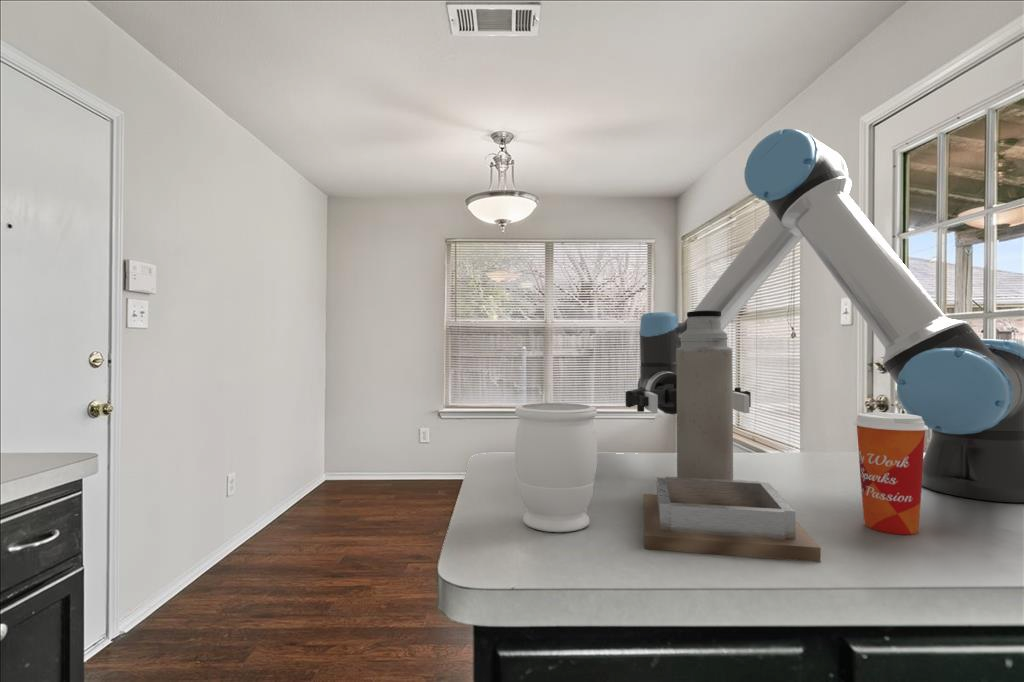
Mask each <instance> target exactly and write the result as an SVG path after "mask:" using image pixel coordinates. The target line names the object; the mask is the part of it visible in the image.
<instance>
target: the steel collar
mask: <svg viewBox="0 0 1024 682" xmlns="http://www.w3.org/2000/svg"><path fill="white" fill-rule="evenodd" d="M656 495H657V504H658V514H659V523H660V530H671V532H678V533H693V534H708V535H722V536H737V537H752V538H766V539H781V540H785V538H792V539H796V521H797V519H796V510H795V509H794V507H793V508H792V506H791V505H790V504H789V503H788V502H787V501H786V499H784V497H783V496H782V495H781V494H780V493H779V492H778V491H777V490H776V488H774V487H773V485H772V484H771V483H770V482H762V481H761V482H759V481H758V480H743V479H742V480H739V479H733V480H723V479H702V478H680V477H677V476H665V477H660V476H659V477H658V476H657V477H656ZM670 501H680V502H697V503H715V504H733V505H751V506H761V508H754V507H736V506H718V505H701V504H683V503H670Z"/></svg>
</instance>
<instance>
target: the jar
mask: <svg viewBox="0 0 1024 682" xmlns="http://www.w3.org/2000/svg"><path fill="white" fill-rule="evenodd" d="M597 409H598V408H597V406H593V405H588V404H579V403H566V402H565V403H562V402H546V403H545V402H544V403H542V402H541V403H529V404H522V405H518V406H516V407H515V410H514V414H515V415H516V417H518V419H519V421H518V425H517V426H516V427H517V428H516V432H515V433H516V434H515V442H514V461H515V469H516V474H517V478H518V480H517V481H518V489H519V493H520V496H521V499H522V502H523V504H524V507H526V509H527V510H526V512H524V516H523V519H522V520H523V523H524V524H525V525H526V526H528V527H530V528H531V529H534V530H538V531H543V532H549V533H567V532H570V533H571V532H575V531H579V530H582V529H585V528H587V527H588V526H589V524H590V521H591V520H590V517H589V515H588V514H587V511H586V510H587V509H588V507H589V505H590V503H591V500H592V497H593V494H594V487H595V477H596V474H597V468H598V467H597V466H598V456H599V455H598V453H599V452H598V441H597V432H596V428H595V425H594V423H593V422H594V418H595V417H596V416H597V414H598V410H597Z"/></svg>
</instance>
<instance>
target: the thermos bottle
mask: <svg viewBox="0 0 1024 682" xmlns="http://www.w3.org/2000/svg"><path fill="white" fill-rule="evenodd" d="M720 316H721V312H720V311H709V310H704V311H694V310H693V311H688V312H686V317H687V318H688V321H687V330H686V331H685V332H683V333H682V334H681V340H680V341H681V347H679V348H677V349H676V362H677V414H676V477H680V478H702V479H723V480H734V418H733V416H734V415H733V414H734V413H733V412H734V411H733V410H734V409H733V388H734V387H733V348H731V347H729V346H728V339H729V337H728V333H727V332H725V331H724V330H723V331H722V330H721V321H720Z"/></svg>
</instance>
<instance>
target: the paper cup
mask: <svg viewBox="0 0 1024 682" xmlns="http://www.w3.org/2000/svg"><path fill="white" fill-rule="evenodd" d="M853 425H855V426H856V433H857V445H858V446H857V447H858V450H857V451H858V461H859V462H858V464H859V475H860V489H861V500H862V503H861V504H862V511H863V512H862V513H863V521H864V525H865V526H866V527H867V528H869V529H871V530H874V531H877V532H880V533H885V534H891V535H898V536H899V535H900V536H912V535H916V534H918V533H919V527H920V516H921V515H920V514H921V503H922V488H923V486H922V471H923V458H924V455H925V453H924V452H925V451H924V450H925V435H926V431H928V430H929V428H928V427H927V426H926V425H925V423H924V421H923V419H922V417H921V416H918V415H911V414H908V413H901V412H886V411H883V412H881V411H879V412H877V411H876V412H875V411H874V412H873V411H872V412H871V411H868V412H862V413H861V412H859V413H858V414H857V416H856V420H855V421H854V422H853Z"/></svg>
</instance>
